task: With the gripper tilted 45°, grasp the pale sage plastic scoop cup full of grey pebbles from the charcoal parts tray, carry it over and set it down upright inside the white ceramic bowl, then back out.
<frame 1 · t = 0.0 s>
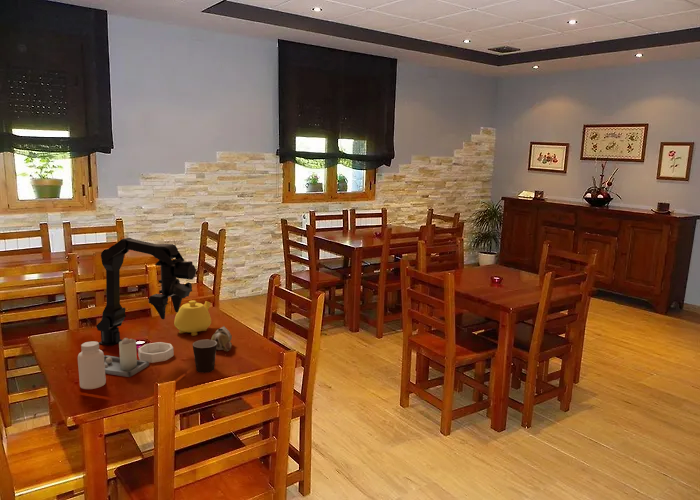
hand: (170, 315, 211), 15 cm above the table, fingers open, 9 cm apart
parts tray: (117, 369, 195), on the table
teapot: (196, 330, 239), on the table
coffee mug: (207, 368, 199), on the table
scoop cup: (128, 369, 193), point 1 cm above the table, touching parts tray
ceramic sculpture: (220, 349, 218), on the table
bowl: (156, 357, 206), on the table
pill bottle: (92, 386, 181), on the table
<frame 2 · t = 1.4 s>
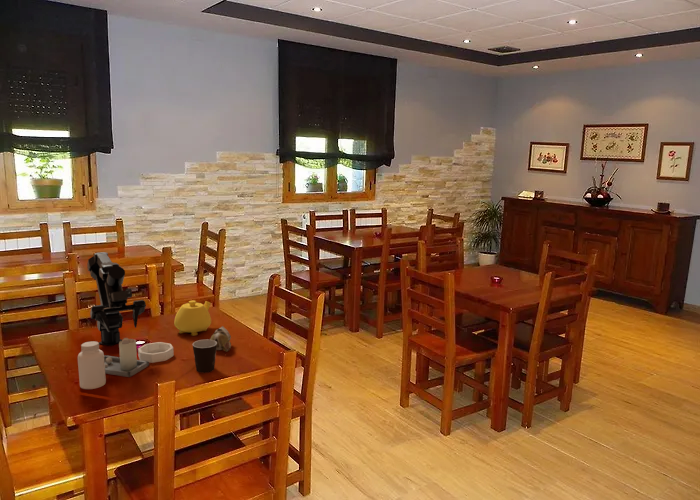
hand: (122, 329, 197), 13 cm above the table, fingers open, 9 cm apart
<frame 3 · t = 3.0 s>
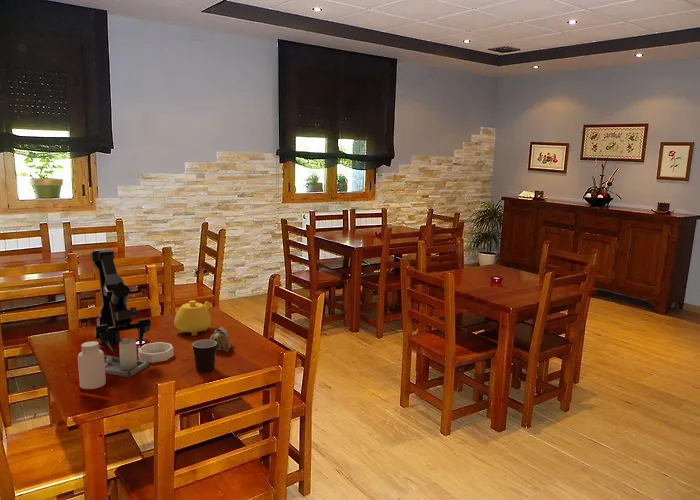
hand: (127, 349, 192), 8 cm above the table, fingers open, 9 cm apart
nothing on the table moved.
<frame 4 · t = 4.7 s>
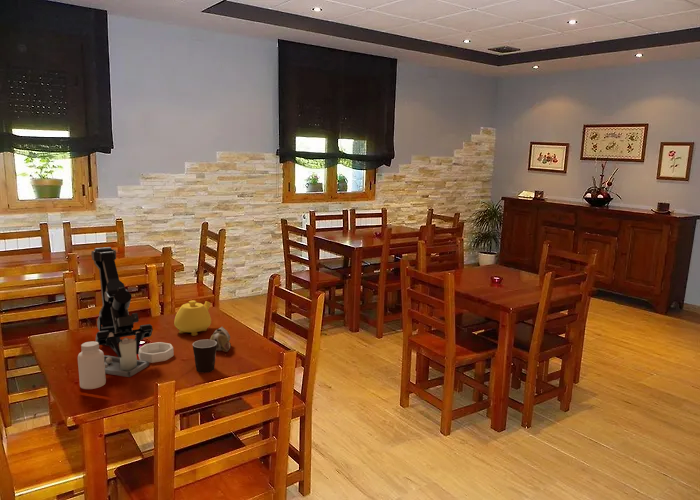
hand: (128, 355, 191), 7 cm above the table, fingers closed on scoop cup, 6 cm apart
scoop cup: (128, 369, 193), point 1 cm above the table, touching gripper, parts tray
everything else where it was.
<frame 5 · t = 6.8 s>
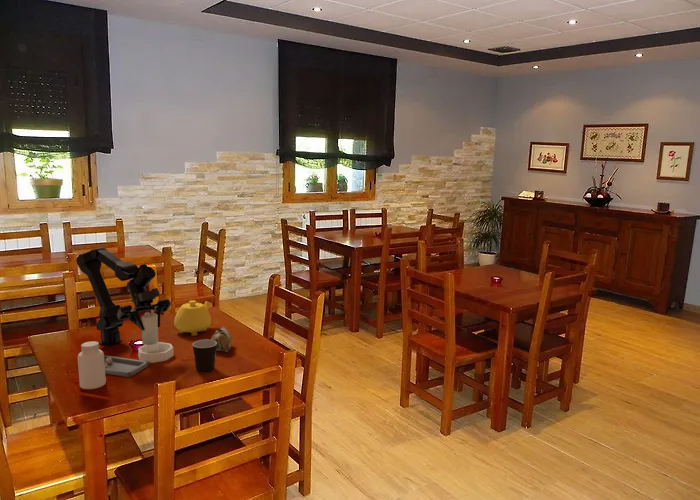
hand: (151, 328, 200), 13 cm above the table, fingers closed on scoop cup, 6 cm apart
scoop cup: (150, 342, 202), point 7 cm above the table, touching gripper
when the fingers open (8 cm above the table, at t = 9.0 s): scoop cup drops 1 cm, resting on bowl.
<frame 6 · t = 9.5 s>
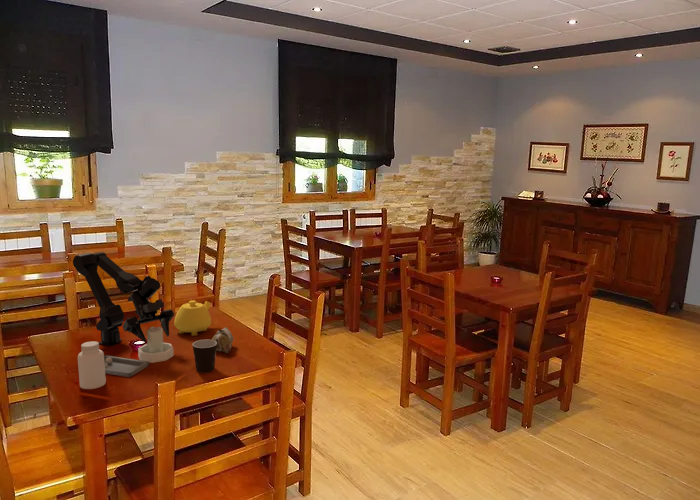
hand: (157, 338, 204), 8 cm above the table, fingers open, 9 cm apart
scoop cup: (155, 355, 206), point 1 cm above the table, touching bowl
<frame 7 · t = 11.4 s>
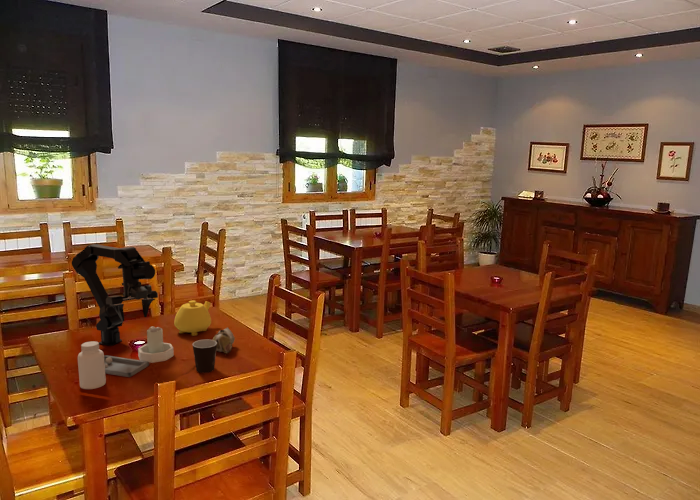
hand: (134, 319, 211), 13 cm above the table, fingers open, 9 cm apart
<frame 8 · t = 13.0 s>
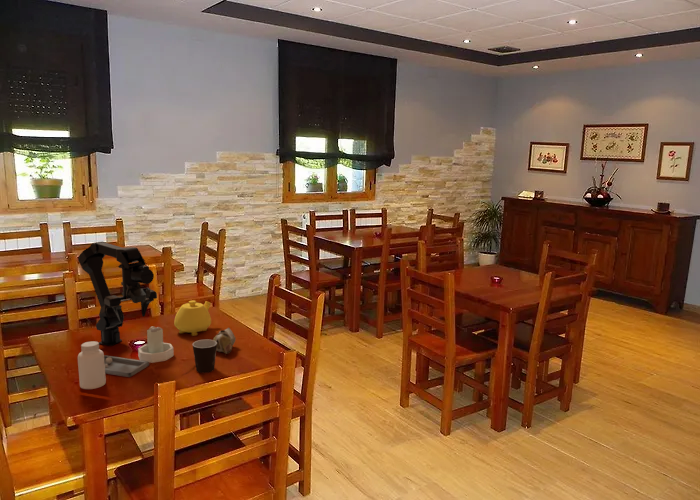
hand: (132, 318, 211), 13 cm above the table, fingers open, 9 cm apart
at the end: scoop cup 0.1 cm off-centre on the bowl, point 0.8 cm above the bowl's base; scoop cup tilted 0°; the gripper is holding nothing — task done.
